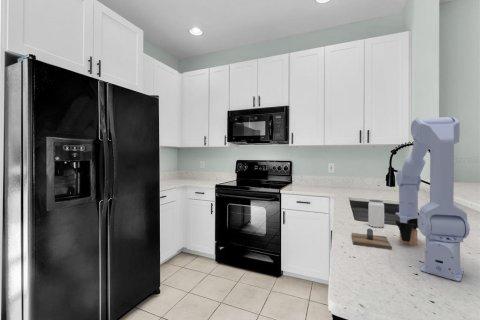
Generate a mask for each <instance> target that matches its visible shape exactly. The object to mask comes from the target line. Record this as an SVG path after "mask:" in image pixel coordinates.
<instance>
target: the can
mask: <svg viewBox="0 0 480 320" xmlns="http://www.w3.org/2000/svg"><path fill="white" fill-rule="evenodd" d="M367 204H368V207H367V210H368V216H367V217H368V218H367V219H368V226H369V225H370V227H371V226H373V228H376V227H383V228H384V227H385V204H384V200H380V199H369V202H368V203H367Z"/></svg>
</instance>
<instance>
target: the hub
mask: <svg viewBox="0 0 480 320" xmlns="http://www.w3.org/2000/svg"><path fill="white" fill-rule="evenodd" d="M399 242H400V243H402V244H404V245H409V246H417V245H418V229H412V232H411V238H410V242H407V241H402V237H401V233H400V232H399Z"/></svg>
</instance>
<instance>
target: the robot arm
mask: <svg viewBox="0 0 480 320" xmlns="http://www.w3.org/2000/svg"><path fill="white" fill-rule="evenodd" d="M460 127H461V126H460V121H459V120H458V119H457V118H456V117H455V116H452V115H451V116H446V117H445V116H444V117H443V116H441V117H422V118H420V117H416V118H415V119H414V120H413V121H412V122H411V125H410V133H411V134H410V135H411V136H412V137H411V138H412V139H413V144H412V150H411V154H410V155H409V156H406V157H405V160H404V162H403V165H402V168H400V169H399V170H398V171H397V172H396V176H395V181H396V185H397V186H398V212H395V216H398V217H399V219H396V220H395V225H396V226H397V227H398V229H399V234H400V233H401V237H402V241H407V242H410V238H411V232H412V229H416V230H419V233H421V234H422V235H423V236H424V237H425V249H424V263H423V265H422V267H421V268H420V271H421V272H424V273H428V274H431V275H435V276H439V277H442V278H446V279H449V280H452V281H455V282H461V281H462V278H463V277H462V276H463V273H464V268H462V267H461V242H462V243H464V239H466V238H468V236H469V235H470V232H471V231H470V229H471V228H470V224H469V221H468V213H466V212H465V211H464V210H463V208H460V207H458V206H457V205H456V204H455V203H454V190H455V189H454V181H455V180H454V179H455V178H454V177H455V174H454V173H455V168H454V167H455V144H458V143H459V142H460V135H461V134H460V129H461V128H460ZM429 149H430V150H429ZM428 151H429V154H430V155H429V156H430V158H429V159H430V164H429V165H430V166H429V168H430V169H429V171H430V172H429V202H427V203H426V204H424V205H422V206H421V207H420V208H419V200H418V199H419V196H418V195H419V191H420V186H421V184H422V183H421V182H422V179H421V173H422V172H423V170H424V168H425V164H426V160H425V159H424V158H425V156H426V154H427V153H428Z"/></svg>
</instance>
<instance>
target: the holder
mask: <svg viewBox="0 0 480 320" xmlns="http://www.w3.org/2000/svg"><path fill="white" fill-rule="evenodd" d="M351 239H352V244H353V246H354V245H355V246H360V247H370V248H378V249H384V250H385V249H386V250H393V246H392V244H391V243H390V242H389V240H388V238H387V236H384V235H376V234H374V231H373V229H372V228H367V229H366V234H365V233H359V232H358V233H356V232H351Z"/></svg>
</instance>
